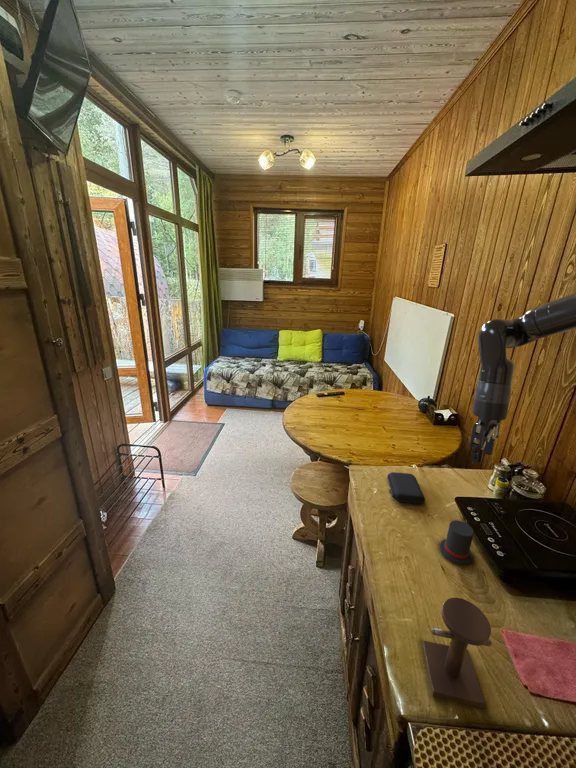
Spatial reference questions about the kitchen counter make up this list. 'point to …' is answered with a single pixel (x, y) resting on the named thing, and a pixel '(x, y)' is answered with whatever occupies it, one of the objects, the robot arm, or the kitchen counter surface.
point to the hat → (458, 543)
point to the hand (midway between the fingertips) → (481, 457)
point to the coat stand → (457, 653)
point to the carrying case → (405, 488)
